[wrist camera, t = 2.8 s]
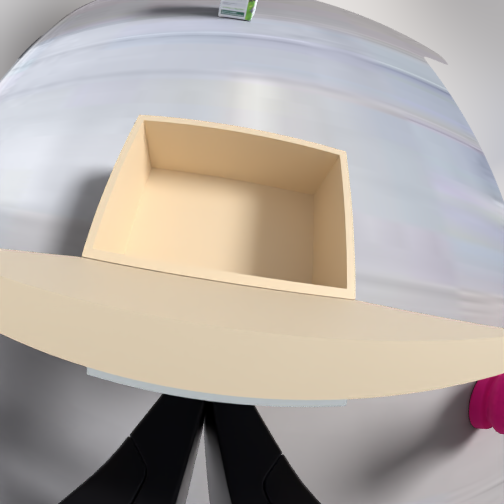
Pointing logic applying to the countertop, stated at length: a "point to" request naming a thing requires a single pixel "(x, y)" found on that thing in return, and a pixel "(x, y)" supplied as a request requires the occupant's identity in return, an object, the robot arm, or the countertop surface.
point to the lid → (233, 335)
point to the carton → (228, 208)
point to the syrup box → (237, 9)
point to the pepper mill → (488, 404)
